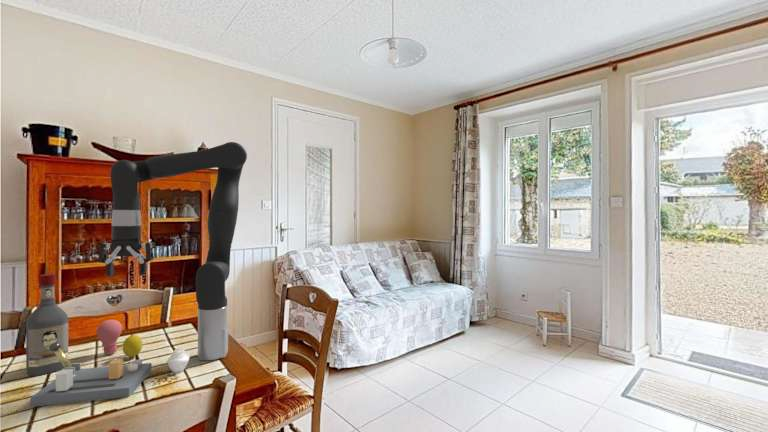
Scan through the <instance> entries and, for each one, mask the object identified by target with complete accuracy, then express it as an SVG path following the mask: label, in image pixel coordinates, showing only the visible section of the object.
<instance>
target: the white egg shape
mask: <svg viewBox="0 0 768 432" xmlns="http://www.w3.org/2000/svg"><path fill="white" fill-rule="evenodd" d="M189 360H190V356H189V354H187V353H186V351H185V349H184V348H176V349H174V350H173V351H172V352H171V354H170V356H169V357H168V359H166V363H167V365H168V367H169V369H170V370H171V372H172V373H181V372H183V371H185V368H186V367H187V365H188V363H189Z"/></svg>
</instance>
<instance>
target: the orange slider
mask: <svg viewBox="0 0 768 432" xmlns="http://www.w3.org/2000/svg"><path fill="white" fill-rule="evenodd" d="M123 365H124V358H118V359H116V358H115V359H112V360H111V361H110V362H109V363H108V367H109V379H119V378H120V377H121V376H122V375H123Z"/></svg>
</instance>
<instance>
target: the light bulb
mask: <svg viewBox="0 0 768 432" xmlns="http://www.w3.org/2000/svg"><path fill="white" fill-rule="evenodd" d="M122 331H123V325H122V324H121V322H120V321H118V320H116V319H108V320H107V319H106V320H105V321H103V322H100V324H99V325H98V327H97V328H96V336H97V338H98V340H99V341H100V343H102V347H103V355H112V354H113V353H116V352H118V345H117V341H118V339H119V338H120V336H121V333H122Z"/></svg>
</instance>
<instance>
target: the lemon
mask: <svg viewBox="0 0 768 432" xmlns="http://www.w3.org/2000/svg"><path fill="white" fill-rule="evenodd" d="M142 350H143V340H142V338H141V337H140V336H139V335H138V334H137V335H136V334H135V333H133V334H131V335H129V336H128V337H126V338H125V340H124V341H123V343H122V352H123V354H124V355H125V356H126V357H130V358H134V357H135V356H137V355H139V354H140V352H141V351H142Z"/></svg>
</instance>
